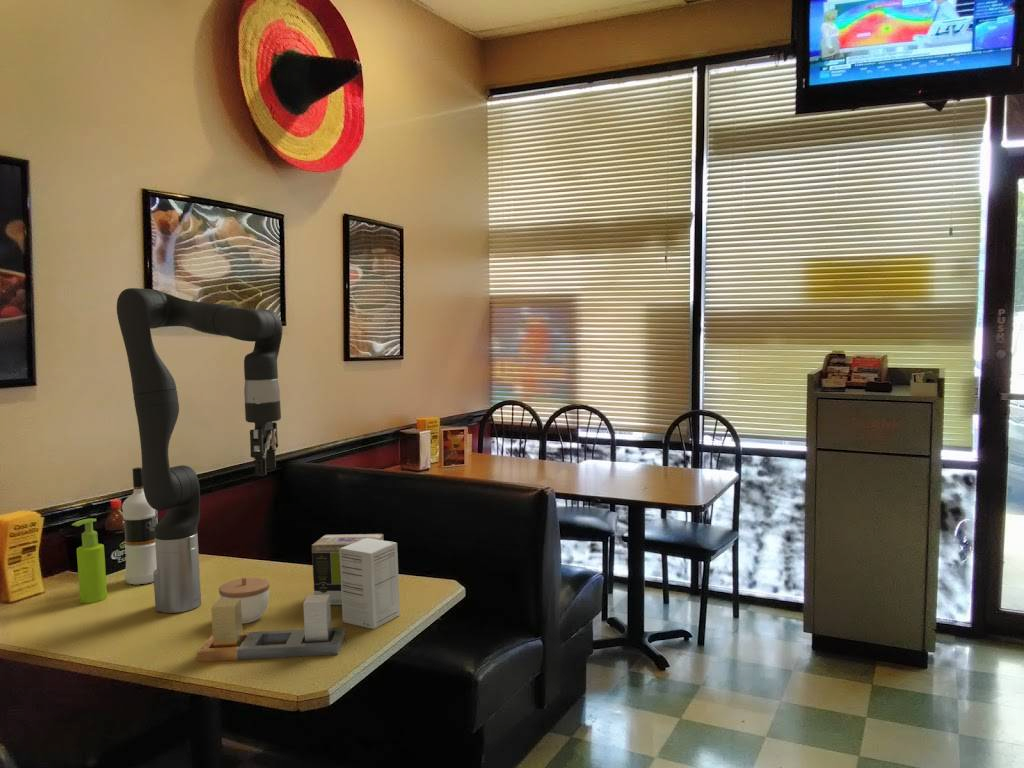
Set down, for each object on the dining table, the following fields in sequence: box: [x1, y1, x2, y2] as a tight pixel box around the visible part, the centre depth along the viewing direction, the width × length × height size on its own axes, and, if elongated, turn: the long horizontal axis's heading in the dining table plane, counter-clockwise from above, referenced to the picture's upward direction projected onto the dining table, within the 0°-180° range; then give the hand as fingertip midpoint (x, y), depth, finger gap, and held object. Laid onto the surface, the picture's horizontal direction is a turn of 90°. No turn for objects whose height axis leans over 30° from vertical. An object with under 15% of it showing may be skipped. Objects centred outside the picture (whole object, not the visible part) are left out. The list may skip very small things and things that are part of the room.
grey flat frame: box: [197, 626, 346, 663], centre depth 156 cm, size 27×9×2 cm, turn 94°
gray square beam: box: [302, 594, 332, 643], centre depth 157 cm, size 4×4×10 cm
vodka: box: [121, 467, 159, 586], centre depth 202 cm, size 9×9×30 cm
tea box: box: [311, 533, 385, 606], centre depth 184 cm, size 15×10×15 cm, turn 84°
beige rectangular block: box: [211, 598, 243, 648], centre depth 156 cm, size 4×4×10 cm
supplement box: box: [339, 538, 401, 630], centre depth 171 cm, size 10×9×17 cm
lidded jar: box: [218, 576, 270, 625], centre depth 173 cm, size 11×11×9 cm
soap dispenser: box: [71, 517, 108, 604], centre depth 188 cm, size 6×7×20 cm
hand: (266, 472), depth 172 cm, fingers open, 8 cm apart
